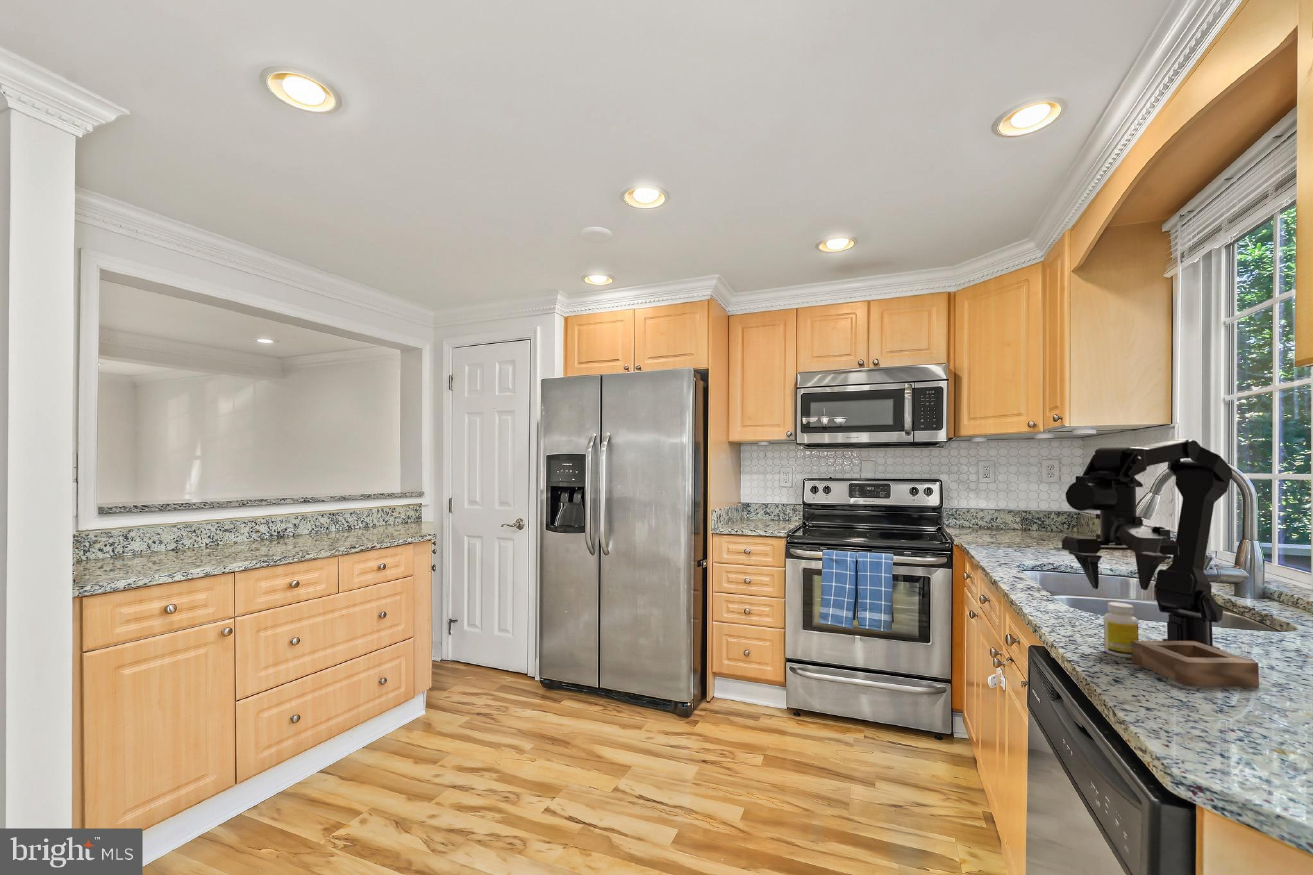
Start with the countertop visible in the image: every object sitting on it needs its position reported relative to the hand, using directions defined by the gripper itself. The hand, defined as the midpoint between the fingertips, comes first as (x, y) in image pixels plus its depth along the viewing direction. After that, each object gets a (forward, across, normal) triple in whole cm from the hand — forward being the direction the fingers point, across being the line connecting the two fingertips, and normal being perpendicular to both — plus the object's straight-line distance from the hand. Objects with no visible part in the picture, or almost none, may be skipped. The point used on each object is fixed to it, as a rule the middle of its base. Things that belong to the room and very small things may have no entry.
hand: (1119, 589), depth 116 cm
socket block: (+13, +6, -9) cm, 17 cm away
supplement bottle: (+13, +1, +1) cm, 13 cm away
